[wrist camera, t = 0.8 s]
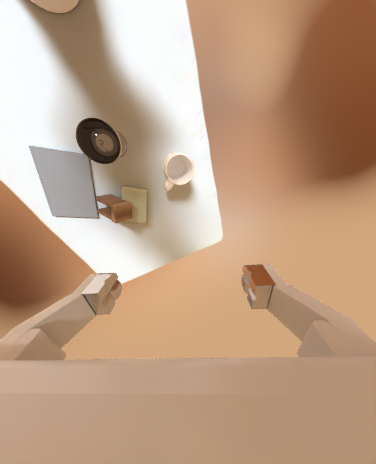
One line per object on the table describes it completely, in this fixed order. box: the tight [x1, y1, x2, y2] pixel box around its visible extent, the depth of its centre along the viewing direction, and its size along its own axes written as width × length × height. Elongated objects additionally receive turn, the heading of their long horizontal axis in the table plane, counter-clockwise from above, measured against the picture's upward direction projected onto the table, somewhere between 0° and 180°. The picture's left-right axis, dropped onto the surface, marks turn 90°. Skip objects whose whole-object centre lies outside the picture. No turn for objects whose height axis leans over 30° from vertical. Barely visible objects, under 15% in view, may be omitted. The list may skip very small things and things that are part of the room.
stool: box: [96, 194, 132, 223], centre depth 44 cm, size 6×11×11 cm, turn 80°
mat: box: [29, 146, 98, 218], centre depth 43 cm, size 20×13×1 cm, turn 170°
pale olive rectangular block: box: [121, 186, 147, 224], centre depth 49 cm, size 12×8×4 cm, turn 170°
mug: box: [163, 153, 194, 191], centre depth 44 cm, size 12×8×10 cm
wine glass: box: [76, 118, 127, 164], centre depth 34 cm, size 8×8×15 cm
